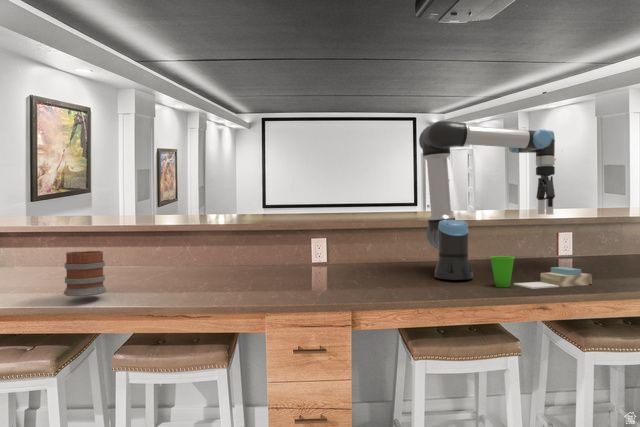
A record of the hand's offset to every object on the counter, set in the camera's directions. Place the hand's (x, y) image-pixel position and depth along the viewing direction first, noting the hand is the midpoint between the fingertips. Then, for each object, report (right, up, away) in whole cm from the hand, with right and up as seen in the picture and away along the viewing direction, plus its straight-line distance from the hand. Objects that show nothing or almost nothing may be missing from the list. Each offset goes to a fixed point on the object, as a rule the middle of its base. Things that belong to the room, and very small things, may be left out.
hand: (545, 214), depth 219 cm
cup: (-30, -27, -31) cm, 52 cm away
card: (-5, -23, -27) cm, 36 cm away
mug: (-184, -29, -37) cm, 190 cm away
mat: (-18, -27, -32) cm, 45 cm away
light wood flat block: (-5, -27, -27) cm, 38 cm away
